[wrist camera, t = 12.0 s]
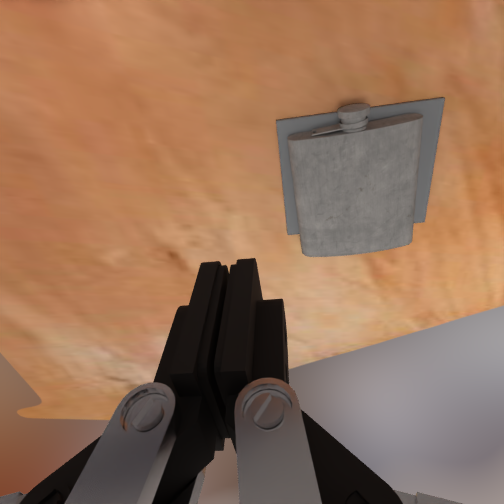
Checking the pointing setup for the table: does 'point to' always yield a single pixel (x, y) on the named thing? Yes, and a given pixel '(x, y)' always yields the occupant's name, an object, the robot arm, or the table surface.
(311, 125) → the mat
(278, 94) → the table surface
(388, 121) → the hip flask
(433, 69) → the table surface
